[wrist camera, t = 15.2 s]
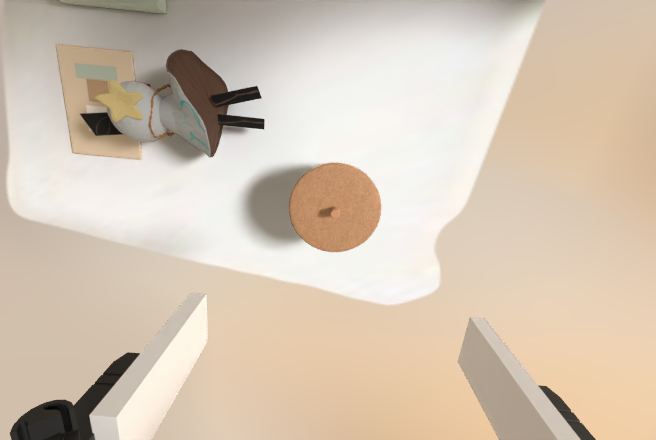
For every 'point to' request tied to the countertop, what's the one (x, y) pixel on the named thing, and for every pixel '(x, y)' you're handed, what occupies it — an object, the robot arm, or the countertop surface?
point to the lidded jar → (335, 207)
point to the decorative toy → (174, 106)
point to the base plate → (124, 4)
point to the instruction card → (79, 90)
